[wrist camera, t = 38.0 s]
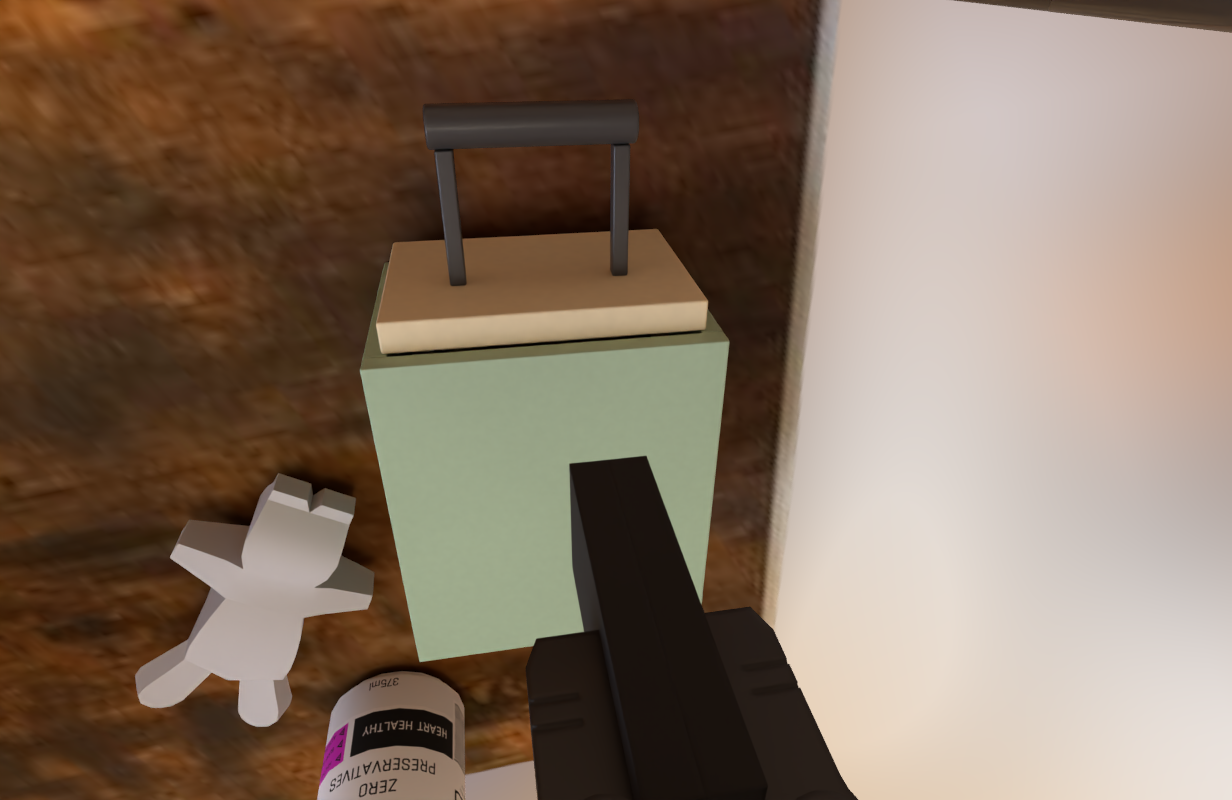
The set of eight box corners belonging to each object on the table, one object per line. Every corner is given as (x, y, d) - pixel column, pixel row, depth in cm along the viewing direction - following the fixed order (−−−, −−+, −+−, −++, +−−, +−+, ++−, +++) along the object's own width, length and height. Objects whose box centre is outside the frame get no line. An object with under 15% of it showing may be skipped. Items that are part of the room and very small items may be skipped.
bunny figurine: (407, 551, 35) (289, 763, 39) (408, 494, 40) (301, 690, 44) (199, 489, 31) (91, 732, 35) (226, 433, 36) (127, 654, 40)
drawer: (367, 81, 27) (338, 125, 20) (665, 76, 29) (725, 115, 22) (432, 492, 37) (427, 608, 31) (647, 470, 39) (685, 574, 33)
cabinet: (384, 261, 31) (359, 369, 24) (665, 246, 34) (730, 341, 26) (427, 516, 39) (419, 662, 31) (652, 491, 41) (699, 622, 33)
